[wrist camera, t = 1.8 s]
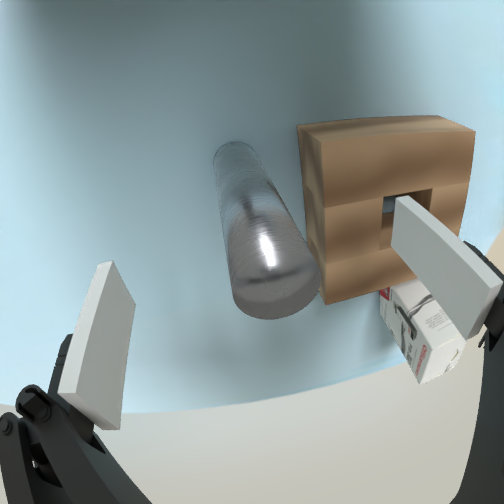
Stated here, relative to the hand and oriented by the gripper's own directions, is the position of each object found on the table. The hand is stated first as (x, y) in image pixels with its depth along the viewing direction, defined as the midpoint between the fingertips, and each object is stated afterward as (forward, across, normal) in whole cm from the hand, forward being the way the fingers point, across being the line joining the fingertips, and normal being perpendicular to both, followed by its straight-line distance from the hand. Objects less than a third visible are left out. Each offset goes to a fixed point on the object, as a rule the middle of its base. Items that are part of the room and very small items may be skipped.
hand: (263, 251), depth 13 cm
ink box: (+12, +16, -17) cm, 26 cm away
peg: (+11, 0, +1) cm, 11 cm away
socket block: (+11, +12, -4) cm, 17 cm away
